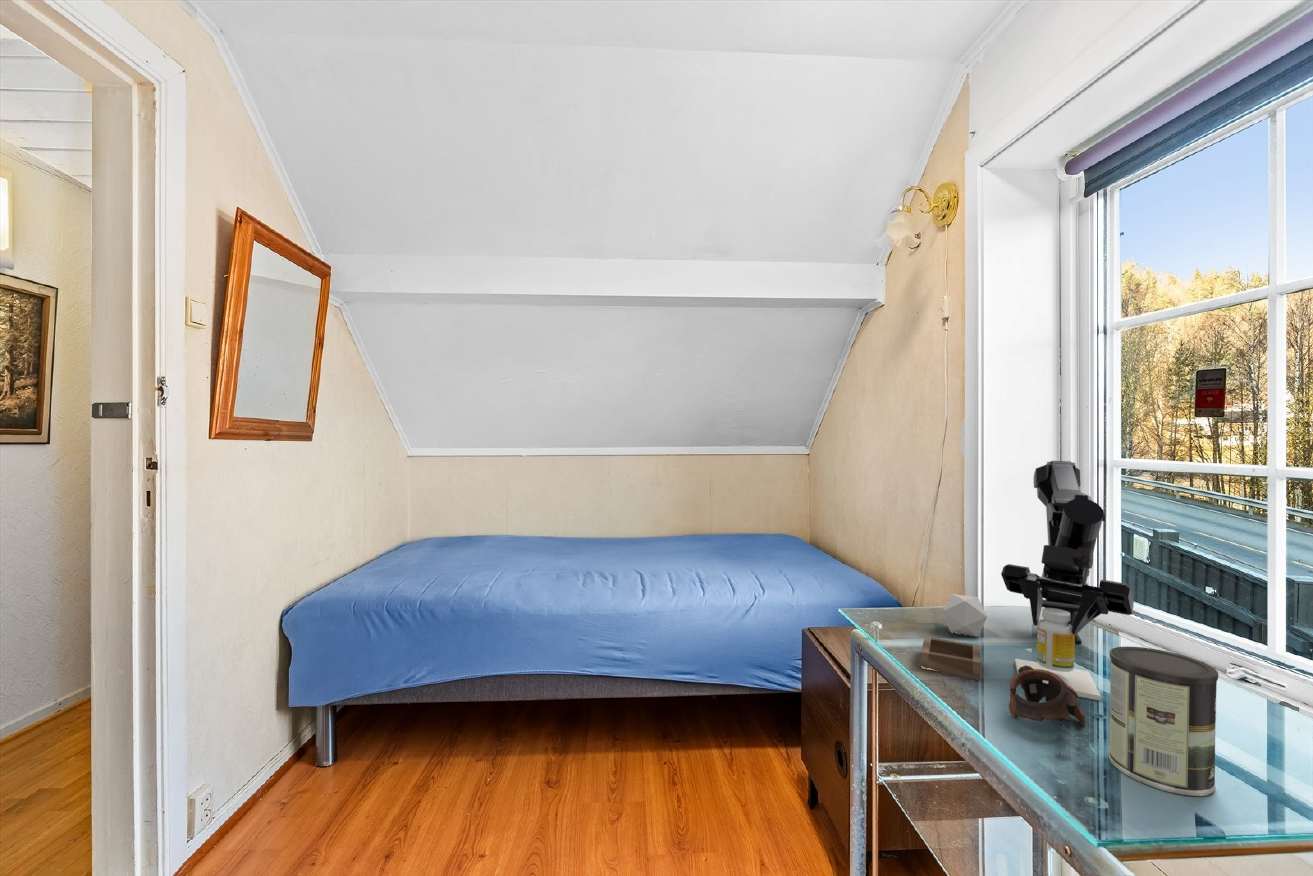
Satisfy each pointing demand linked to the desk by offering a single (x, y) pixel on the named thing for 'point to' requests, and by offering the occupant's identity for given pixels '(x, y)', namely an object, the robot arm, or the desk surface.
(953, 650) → the walnut holder
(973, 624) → the die
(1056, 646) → the supplement bottle
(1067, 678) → the off-white coaster
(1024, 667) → the broken brown clay pot
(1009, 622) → the desk surface
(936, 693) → the desk surface
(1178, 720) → the coffee can
